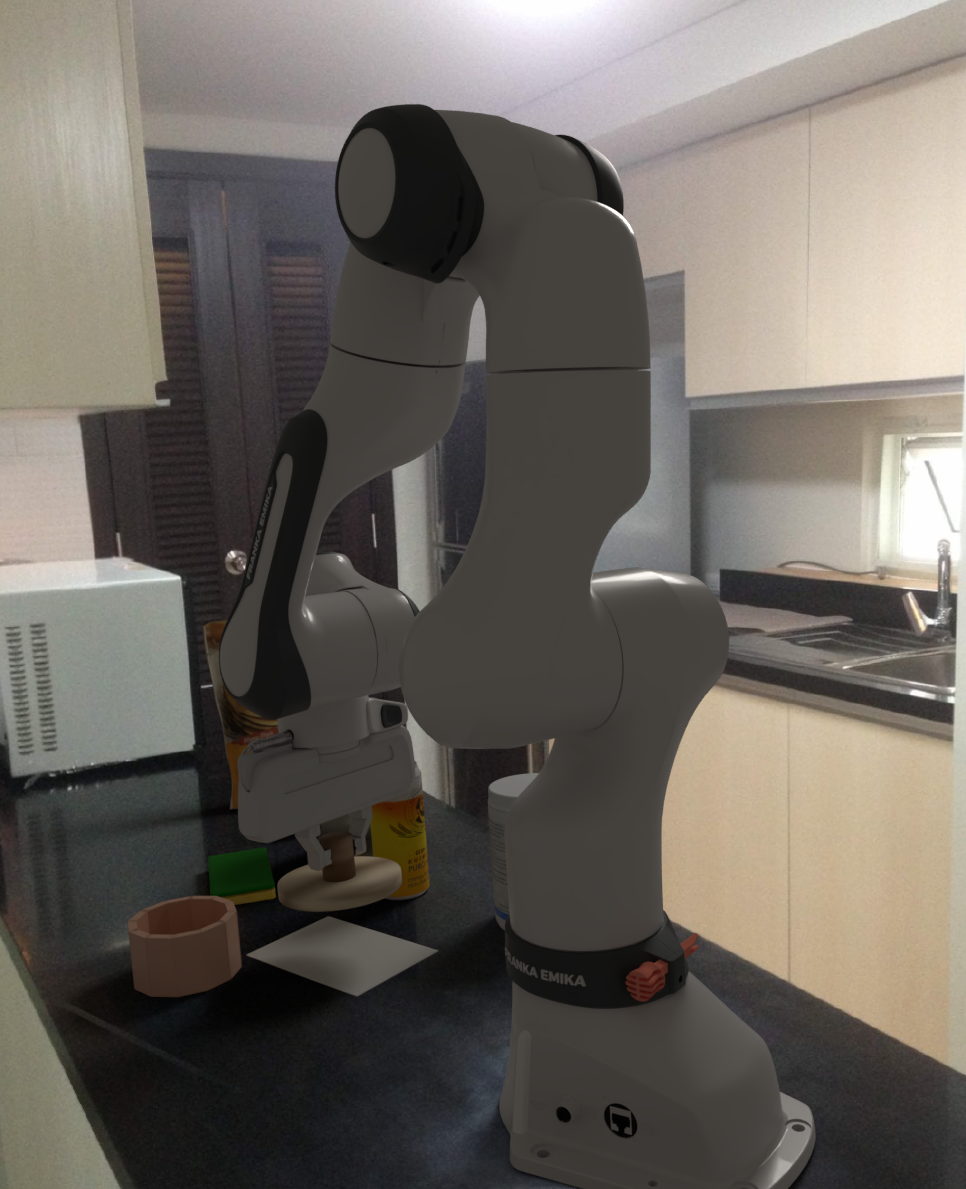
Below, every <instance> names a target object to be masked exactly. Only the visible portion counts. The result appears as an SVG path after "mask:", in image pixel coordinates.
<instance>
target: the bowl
mask: <svg viewBox="0 0 966 1189" xmlns="http://www.w3.org/2000/svg"><path fill="white" fill-rule="evenodd" d="M238 921H239V920H238V911H237V908H236V905H234V903H233V901H231V900H227V899H224V898H221V897H218V896H211V895H190V896H184V897H179V898H173V899H166V900H163V901H161V902H158V903H155V904H153V905H151V906H148V907H145V908H143V909H140V910H139V911H138V912H137V913H136V914H134V915H133V916H132V917H131V918H130V919H129V920H127V929H128V930H127V931H128V932H127V933H128V941H129V949H130V959H131V961H130V962H131V968H132V969H131V970H132V979H133V989H134V990H136V991H138V992H140V993H143V994H145V995H146V996H149V997H154V998H156V997H159V998H167V997H168V998H180V997H184V996H185V997H186V996H189V995H190V996H191V995H195V994H198V993H202V992H203V993H204V992H207V991H209V990H212V989H215V988H216V987H218V986H221V985H222V984H224V983H226V982H229V981H230V980H232V979H233V978H234V977H235V975H236V974H237V973H238V972H239V971H240V969H241V968H242V967H243V964H242V954H241V943H240V941H241V940H240V931H239V922H238Z"/></svg>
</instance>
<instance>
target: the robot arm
mask: <svg viewBox="0 0 966 1189" xmlns="http://www.w3.org/2000/svg"><path fill="white" fill-rule="evenodd" d="M334 199H335V207H336V212H337V216H338V219H339V221H340V224H341V225H342V229H343V231H344V232H345V234H346V236H347V238H348V240H349V242H350V243H349V245H348V248H347V252H346V255H345V257H344V258H345V259H344V263H343V267H342V271H341V273H340V278H339V283H338V286H337V287H338V289H337V292H336V298H335V303H334V308H333V315H332V322H331V330H330V337H329V338H330V339H329V341H330V342H329V347H328V353H327V358H326V362H325V365H324V369H323V371H322V372H323V373H322V375H321V378H320V380H319V382H318V384H317V387H316V389H315V391H314V392H313V394H312V396H311V398H310V400H309V401H308V402H307V403H306V406H304V408H303V410H302V411H300V412H299V413H298V414H296V415H295V416H293V417H292V418H290V419H289V420H288V421H287V422H286V424H285V425H284V427H283V429H282V431H281V434H280V436H279V439H278V441H277V445H276V447H275V450H274V454H273V458H272V460H271V463H270V467H269V472H268V473H267V478H266V482H265V485H264V491H263V494H262V498H261V502H260V506H259V509H258V513H257V517H256V522H255V525H254V531H253V533H252V534H253V535H252V539H251V542H250V547H249V551H248V555H247V558H246V562H245V567H244V571H243V575H242V577H241V578H242V579H241V583H240V586H239V590H238V593H237V595H236V599H235V602H234V603H233V606H232V608H231V611H230V613H229V615H228V618H226V619H227V622H226V624H225V627H224V629H223V632H222V636H221V640H220V645H219V668H220V674H221V678H222V681H223V684H224V686H225V688H226V690H227V692H228V693H229V694H230V696H232V697H233V698H234V699H235V700H236V701H237V702H238V703H239V704H241V705H242V706H243V707H245V708H246V709H248V710H249V711H251V712H253V713H255V714H257V715H259V716H261V717H263V718H265V719H268V720H276V719H277V722H278V731H279V733H278V734H274V735H272V736H270V737H267V738H263V739H262V738H260V739H256V740H253V741H251V742H250V743H249V744H248V747H247V748H245V749H244V751H243V752H242V753H241V756H240V757H239V758H238V774H239V785H238V809H237V819H238V820H237V821H238V829H239V831H240V833H241V834H242V835H243V836H244V837H245V839H246V840H250V841H252V842H253V841H254V842H258V843H263V844H270V843H273V842H275V841H278V840H281V839H283V838H286V837H289V836H291V835H294V837H295V839H296V840H297V841H298V842H299V844H300V845H301V847H302V848H303V849H304V850H305V852H306V854H307V855H306V856H307V865H309V868H310V869H311V870H316V871H320V870H323V869H325V868H327V867H329V866H331V864H332V860H331V859H330V858H331V849H327V848H322V846H321V845H320V843H319V839H318V838H317V837H319V835H320V834H321V833H320V824H322V823H325V822H328V821H330V820H333V819H336V818H339V817H341V816H344V815H347V814H348V816H349V817H352V820H351V824H350V828H349V832H350V833H352V840H353V850H354V856H357V855H359V854H362V853H364V852H366V839H365V835H366V833H367V831H368V828H369V825H370V822H371V819H372V805H374V804H377V803H380V802H383V801H385V800H388V799H391V798H394V797H396V796H399V795H402V794H405V793H407V792H410V791H411V789H412V787H413V784H414V781H415V777H416V772H415V761H416V760H415V753H414V746H413V741H412V740H413V739H412V736H411V734H410V731H409V730H408V728H407V727H406V726H404V725H405V724H406V723H407V722H408V721H409V713H410V715H411V717H412V718H413V720H414V721H415V722H416V724H417V725H418V726H419V727H420V728H421V730H422V731H423V732H424V733H425V734H426V735H427V736H429V738H430V739H432V740H433V741H434V742H436V743H437V744H439V745H440V746H442V747H445V748H448V749H450V748H451V749H465V750H466V749H467V750H468V749H470V750H472V749H473V750H489V749H490V750H492V749H493V750H496V749H497V750H498V749H499V750H500V749H501V750H502V749H504V750H505V749H515V748H520V747H525V746H528V745H533V744H536V743H541V742H545V741H549V740H553V739H554V740H553V742H552V745H551V746H552V747H551V749H550V752H549V753H548V756H547V758H546V761H545V763H544V764H543V766H542V767H541V769H540V771H539V772H538V773H539V774H538V775H537V777H536V778H535V779H534V780H533V781H532V782H531V783H530V784H529V785H528V786H527V788H526V789H525V790H524V791H523V792H522V793H521V794H520V795H519V796H518V797H517V799H516V800H515V802H514V803H513V805H512V807H511V808H510V811H509V813H508V816H507V820H506V824H505V832H504V835H505V851H506V866H507V882H508V897H509V913H510V915H509V916H508V917H507V919H506V922H505V930H504V940H505V941H504V943H505V944H504V945H505V946H504V951H505V952H504V953H505V954H504V955H505V964H506V972H507V975H508V977H509V978H510V979H511V980H512V981H511V982H512V983H511V984H512V985H511V986H512V989H511V990H512V991H511V992H512V994H511V995H512V997H511V1000H512V1001H511V1005H512V1006H511V1026H510V1027H511V1028H510V1029H511V1030H510V1041H509V1051H508V1059H507V1065H506V1071H505V1076H504V1082H503V1087H502V1090H501V1094H500V1097H499V1104H498V1106H499V1113H500V1114H499V1115H500V1117H501V1119H502V1120H501V1121H502V1122H503V1125H504V1126H505V1129H506V1130H507V1132H508V1134H509V1136H510V1138H509V1139H510V1140H509V1141H510V1142H509V1162H510V1165H511V1166H512V1167H513V1168H514V1169H515V1170H518V1171H519V1172H524V1173H526V1174H530V1175H534V1176H538V1177H540V1178H545V1179H548V1180H552V1181H555V1182H559V1183H561V1184H565V1185H569V1186H573V1187H575V1188H576V1187H577V1188H579V1189H789V1188H790V1187H791V1186H792V1184H793V1183H794V1182H795V1181H796V1180H797V1178H798V1177H799V1176H800V1174H801V1173H802V1172H803V1170H804V1168H805V1167H806V1166H807V1164H808V1161H810V1159H811V1156H812V1154H813V1150H814V1148H815V1145H816V1144H815V1143H816V1138H817V1136H816V1126H815V1125H816V1124H815V1119H814V1115H813V1113H812V1109H811V1108H810V1107H809V1106H808V1105H807V1104H806V1103H804V1102H802V1101H800V1100H798V1099H796V1098H794V1097H792V1096H790V1095H788V1094H786V1093H784V1092H782V1091H780V1086H779V1085H780V1084H779V1081H778V1077H777V1071H776V1068H775V1064H774V1061H773V1056H772V1054H771V1052H770V1049H769V1047H768V1045H767V1043H766V1041H765V1040H764V1039H763V1038H762V1036H760V1035H759V1033H757V1032H756V1031H755V1030H754V1029H752V1027H750V1026H749V1025H748V1024H747V1023H746V1022H745V1021H744V1020H742V1019H741V1018H740V1017H739V1016H738V1015H737V1014H736V1013H735V1012H734V1011H732V1010H731V1009H730V1008H729V1007H728V1006H727V1005H726V1004H725V1003H724V1002H723V1001H721V999H719V998H718V997H717V995H715V994H714V993H713V992H712V991H711V990H710V989H709V988H708V987H707V986H706V985H705V984H704V983H702V981H700V980H699V979H698V978H697V977H696V976H695V975H694V974H693V973H692V972H691V971H690V970H689V969H690V967H689V963H688V960H687V958H689V957H690V956H692V954H694V953H695V952H696V951H697V950H698V949H699V948H700V946H699V944H696V942H697V939H698V938H699V934H698V933H696V932H695V933H693V934H692V935H690V936H689V937H687V938H686V939H685V940H683V941H682V942H680V941H679V937H678V936H677V933H676V931H675V929H674V926H673V923H672V922H671V920H670V917H669V915H668V914H667V912H666V910H664V899H663V895H664V894H663V869H662V868H663V863H662V862H663V861H662V860H663V859H662V858H663V853H662V851H663V850H662V847H663V846H662V844H663V843H662V842H663V840H662V839H663V838H662V831H663V829H662V828H663V826H662V825H663V824H662V823H663V814H664V813H663V812H664V804H665V799H666V792H667V788H668V784H669V780H670V776H671V773H672V769H673V766H674V763H675V759H676V755H677V754H678V751H679V748H680V745H681V743H682V740H683V737H684V734H685V732H686V729H687V727H688V726H689V724H690V721H691V719H692V717H693V716H694V713H695V712H696V710H697V708H698V706H699V705H700V704H701V702H702V701H703V699H704V698H705V697H706V695H707V694H708V693H709V692H710V691H711V689H713V687H714V686H715V685H716V684H717V683H718V682H719V680H720V678H721V677H722V676H723V674H724V671H725V668H726V666H727V662H728V657H729V651H730V632H729V624H728V621H727V618H726V614H725V611H724V610H723V608H722V606H721V604H720V602H719V599H718V598H717V597H716V595H715V593H714V592H713V591H712V590H711V588H709V587H708V586H707V585H706V584H705V583H704V582H703V581H702V580H700V579H699V578H698V577H695V576H693V575H690V574H687V573H684V572H678V571H670V570H665V569H660V568H659V569H657V568H650V567H649V568H648V567H638V566H637V567H625V568H617V569H610V570H603V571H595V572H594V569H595V564H596V562H597V558H598V556H599V554H600V551H601V549H602V545H603V544H604V542H605V540H606V537H607V536H608V534H609V533H610V532H611V529H612V528H613V527H614V525H615V524H616V523H617V522H618V521H619V520H620V519H621V518H622V517H623V516H624V515H626V514H627V513H628V512H629V511H631V509H632V508H634V507H635V506H636V505H637V504H638V503H639V501H640V500H642V497H643V496H644V494H645V493H646V490H647V488H648V485H649V482H650V478H651V472H652V471H651V470H652V468H651V467H652V460H651V458H652V454H651V453H652V451H651V446H652V444H651V439H652V438H651V437H652V436H651V433H652V432H651V431H652V425H651V424H652V422H651V418H652V417H651V416H652V414H651V413H652V412H651V411H652V410H651V407H652V406H651V397H652V396H651V394H652V392H651V390H652V389H651V388H652V387H651V385H652V383H651V382H652V381H651V380H652V376H651V375H652V374H651V370H649V369H651V338H650V337H651V336H650V335H651V334H650V324H649V313H648V302H647V294H646V287H645V281H644V274H643V267H642V263H641V256H640V251H639V246H638V242H637V239H636V235H635V232H634V230H633V228H632V227H631V224H630V223H629V222H628V221H627V219H626V218H625V217H624V209H625V207H624V204H625V203H624V202H625V201H624V192H623V187H622V183H621V179H620V176H619V175H618V173H617V170H616V169H615V166H614V165H613V164H612V163H611V161H610V160H609V159H608V158H607V157H606V156H605V155H604V154H603V153H601V152H600V151H599V150H597V149H595V148H594V147H593V146H592V145H590V144H588V143H586V142H584V141H582V140H580V139H578V138H577V137H574V136H570V135H567V134H552V133H549V132H546V131H544V130H540V129H539V128H538V129H537V128H536V127H532V126H528V125H525V124H521V123H518V122H514V121H510V120H509V119H507V118H505V117H502V116H500V115H495V114H494V115H493V114H488V113H480V112H474V111H465V110H451V109H450V110H449V109H446V110H445V109H434V108H432V107H431V106H428V105H426V104H421V103H410V104H409V103H408V104H407V103H405V104H394V105H387V106H382V107H377V108H375V109H371V110H370V111H368V112H367V113H365V114H364V115H362V117H361V118H359V119H358V120H357V122H356V123H355V124H354V126H353V127H352V129H351V130H350V132H349V134H348V135H347V138H346V139H345V141H344V144H343V146H342V148H341V151H340V153H339V156H338V161H337V165H336V170H335V177H334ZM479 298H480V299H481V301H482V304H483V308H484V315H485V316H484V317H485V374H489V375H485V386H486V387H485V389H486V390H485V392H486V393H485V396H486V399H485V401H486V407H485V408H486V430H485V431H486V435H485V436H486V440H485V470H484V471H485V474H484V484H483V489H482V490H483V491H482V498H481V502H480V507H479V512H478V516H477V519H476V521H475V525H474V528H473V531H472V533H471V535H470V537H469V541H468V543H467V545H466V548H465V550H464V552H463V554H462V556H461V558H460V560H459V562H458V563H457V566H456V567H455V569H454V571H453V572H452V574H451V575H450V577H449V578H448V580H447V581H446V583H445V584H444V586H442V588H441V589H440V591H439V592H438V593H437V594H436V595H435V596H434V597H433V598H432V599H431V600H430V601H429V602H428V603H427V604H426V605H425V606H424V607H423V608H421V610H420V609H419V607H418V606H417V604H416V603H415V602H414V600H412V598H410V596H408V595H407V594H406V593H405V592H403V591H402V590H400V589H399V588H397V587H387V586H384V585H381V584H379V583H377V582H375V581H372V580H370V579H368V578H367V577H365V576H363V575H362V574H360V573H359V572H358V571H356V570H355V568H354V566H353V564H352V562H351V560H350V559H349V557H348V556H347V555H346V554H343V553H341V552H335V551H319V552H318V548H319V544H320V540H321V536H322V533H323V528H324V527H325V524H326V522H327V520H328V518H329V516H330V515H331V514H332V511H334V509H335V508H336V507H337V506H338V505H339V503H340V502H342V501H343V499H345V498H346V497H347V496H348V495H350V494H351V493H352V492H354V491H355V490H357V489H358V488H360V487H362V486H364V485H365V484H367V483H368V482H370V481H371V480H373V479H375V478H377V477H380V476H381V475H384V474H385V473H388V472H390V471H392V470H394V469H395V470H396V469H397V468H399V467H402V466H405V465H406V464H407V465H408V463H411V462H414V460H416V459H418V458H420V457H421V456H422V455H424V454H425V453H427V452H428V451H429V450H431V449H432V448H433V447H434V446H435V445H437V444H438V443H439V441H441V440H442V439H443V437H445V435H447V433H448V432H449V430H450V429H451V426H452V424H453V422H454V419H455V417H456V414H457V411H458V409H459V406H460V401H461V398H462V392H463V386H464V378H465V370H466V365H467V362H466V361H467V356H468V349H469V340H470V339H469V338H470V328H471V319H472V316H473V310H474V307H475V305H476V304H477V303H476V302H477V300H478V299H479ZM399 688H400V689H401V693H402V696H403V700H404V702H405V703H403V702H401V701H400V702H399V701H395V700H394V701H393V700H386V699H379V698H376V697H373V696H371V695H376V694H380V693H384V692H389V691H393V690H396V689H399ZM249 751H250V752H252V753H249V754H247V753H248V752H249Z"/></svg>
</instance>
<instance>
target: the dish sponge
mask: <svg viewBox="0 0 966 1189" xmlns="http://www.w3.org/2000/svg"><path fill="white" fill-rule="evenodd" d="M207 862H208V864H207V865H208V866H207V867H208V877H209V880H208V881H209V894H210V895H209V896H218V897H221V898H224V899H227V900H231V901H233V903H234V906H236V905H242V904H243V905H244V904H248V903H249V904H251V903H256V902H261V901H266V900H273V899H275V898H277V896H276V886H275V885H276V884H275V881H274V876H273V871H272V868H271V863H270V858H269V854H268V850H267V847H257V848H253V849H246V850H238V851H234V852H228V853H221V854H215V855H214V854H213V855H210V856H208V857H207Z"/></svg>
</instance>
